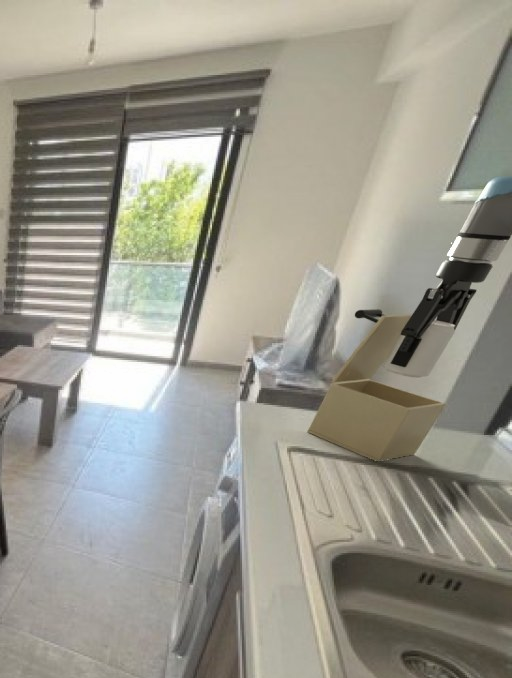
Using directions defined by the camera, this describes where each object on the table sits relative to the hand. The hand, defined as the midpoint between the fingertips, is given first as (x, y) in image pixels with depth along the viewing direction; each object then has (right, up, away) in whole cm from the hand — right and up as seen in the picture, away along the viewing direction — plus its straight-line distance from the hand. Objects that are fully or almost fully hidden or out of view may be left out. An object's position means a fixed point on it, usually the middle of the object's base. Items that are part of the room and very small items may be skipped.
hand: (409, 363), depth 112 cm
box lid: (-2, +4, +5) cm, 7 cm away
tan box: (-1, -18, +11) cm, 22 cm away
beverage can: (0, -2, +1) cm, 2 cm away
